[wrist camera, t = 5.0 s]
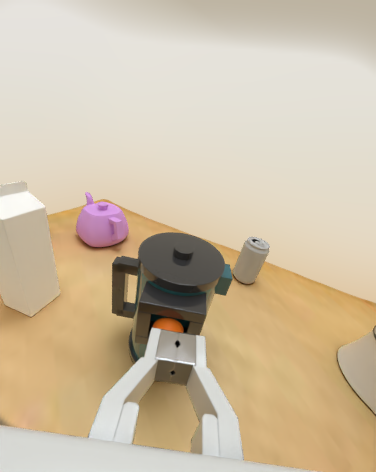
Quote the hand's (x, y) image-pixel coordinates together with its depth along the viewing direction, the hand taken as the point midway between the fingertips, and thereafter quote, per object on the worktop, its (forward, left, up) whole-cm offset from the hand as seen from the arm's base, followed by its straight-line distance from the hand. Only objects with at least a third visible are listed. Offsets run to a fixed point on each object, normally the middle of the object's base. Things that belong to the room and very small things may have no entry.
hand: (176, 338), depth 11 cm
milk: (+31, -3, -23) cm, 39 cm away
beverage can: (+1, -41, -23) cm, 47 cm away
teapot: (+42, -26, -23) cm, 55 cm away
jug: (+7, -11, -23) cm, 27 cm away
